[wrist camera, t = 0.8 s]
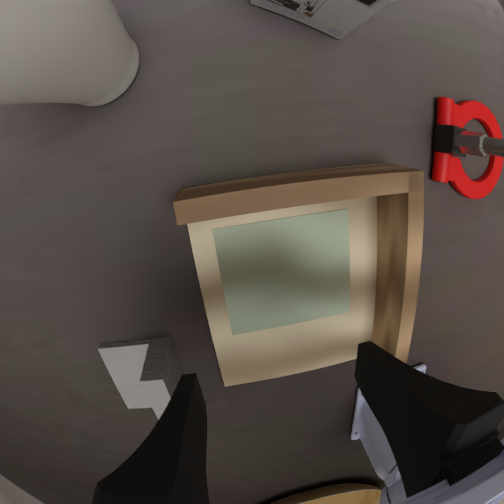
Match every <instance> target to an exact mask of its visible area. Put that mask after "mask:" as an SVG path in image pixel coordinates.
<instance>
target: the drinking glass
mask: <svg viewBox="0 0 504 504" xmlns="http://www.w3.org/2000/svg"><path fill="white" fill-rule="evenodd" d="M138 66H139V52H138V48H137V46H136V43H135V42H134V40H133V39H132V38H131V36H130V35H129V34H128V32H127V30H126V28H125V26H124V24H123V22H122V20H121V18H120V16H119V14H118V12H117V10H116V8H115V6H114V4H113V1H112V0H0V106H2V105H20V104H78V105H82V106H90V107H93V106H100V105H104V104H107V103H109V102H111V101H113V100H115V99H116V98H118V97H119V96H120V95H122V94H123V93H124V92H125V91H126V90H127V89H128V87H129V86H130V85H131V83H132V82H133V80H134V78H135V76H136V74H137V71H138Z"/></svg>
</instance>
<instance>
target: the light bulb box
mask: <svg viewBox="0 0 504 504" xmlns="http://www.w3.org/2000/svg"><path fill="white" fill-rule="evenodd" d="M396 1H398V0H251V4H253V5H256V6H259V7H262V8H264V9H267V10H270V11H273V12H276V13H278V14H281V15H284V16H286V17H289V18H291V19H294V20H296V21H299V22H301V23H304V24H306V25H308V26H311V27H313V28H315V29H317V30H320V31H322V32H324V33H326V34H328V35H330V36H332V37H334V38H337V39H341V38H343V37H344V36H346V35H347V34H348V33H350V32H351V31H353V30H354V29H355V28H357V27H358V26H359V25H361V24H362V23H364V22H365V21H367V20H368V19H370V18H371V17H373V16H374V15H376V14H377V13H379V12H380V11H382V10H383V9H385V8H386V7H388V6H390V5H391V4H393V3H395V2H396Z"/></svg>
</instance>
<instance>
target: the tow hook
mask: <svg viewBox="0 0 504 504" xmlns="http://www.w3.org/2000/svg"><path fill="white" fill-rule="evenodd" d="M473 118H474V119H477V120H478V121H479V122H481V123H482V125H483V126H484V127H485V129H486V131H487V134H488V135H487V134H486V133H481V132H472V131H467V130H466V129H464V128H463V127H464V125H465V124H466V123H467V122H468V121H469V120H471V119H473ZM433 150H434V161H433V171H432V180H434V181H437V182H441V183H448V181H450V183H451V185H452V186H453V187H454V188H455V190H456V191H457V192H458V193H460V194H461V195H463V196H465V197H467V198H470V199H480V198H482V197H485V196H486V195H487V194H488V193H490V192H491V191H492V189H493V188H494V186H495V185H496V183H497V181H498V179H499V176H500V174H501V170H502V165H503V157H504V139H502V135H501V131H500V127H499V125H498V123H497V120H496V118H495V117H494V115H493V114H492V112H491V111H490V110H489V109H488V108H487V107H486V106H485V105H484V104H482V103H480V102H477V101H462V102H460V103H458V104H455V103H454V100H452V99H450V98H446V97H438V98H437V123H436V125H435V135H434V148H433ZM466 153H467V154H470V155H475V156H481V157H486V156H487V155H490V161H489V165H488V168H487V170H486V172H485V173H484V175H483V176H482V177H481V178H479V179H478V180H475V181H472V180H471V179H469V178H468V176H467V175H466V174H465V172H464V170H463V168H462V165H461V161H460V159H459V158H456V157H452V156H451V155H454V156H460V157H466Z"/></svg>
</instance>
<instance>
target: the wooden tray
mask: <svg viewBox="0 0 504 504" xmlns="http://www.w3.org/2000/svg"><path fill="white" fill-rule="evenodd" d="M373 196H377V275H376V296H375V311H374V324H373V335H372V342H373V343H375V344H376V345H378V346H379V347H381V348H382V349H384V350H385V351H387V352H388V353H390V354H391V355H393V356H395V357H396V358H398V359H399V360H401V361H403V362H404V363H406V362H407V357H408V352H409V347H410V342H411V336H412V331H413V325H414V318H415V311H416V304H417V297H418V288H419V279H420V269H421V257H422V243H423V222H424V171H422V170H418V169H413V168H408V167H403V166H398V165H393V164H380V165H366V166H354V167H343V168H333V169H323V170H313V171H304V172H296V173H288V174H280V175H272V176H265V177H258V178H251V179H244V180H237V181H231V182H224V183H218V184H212V185H206V186H200V187H195V188H189V189H183V190H180V192H179V193H178V195H177V196H176V198H175V200H174V201H173V206H174V211H175V216H176V221H177V226H178V225H184V224H190V223H195V222H201V221H207V220H213V219H219V218H225V217H231V216H237V215H244V214H250V213H256V212H263V211H269V210H276V209H283V208H290V207H297V206H304V205H311V204H318V203H325V202H333V201H341V200H348V199H356V198H364V197H373Z"/></svg>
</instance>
